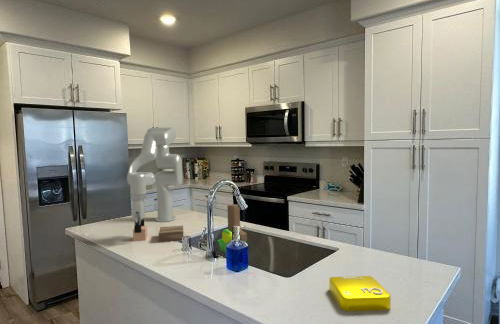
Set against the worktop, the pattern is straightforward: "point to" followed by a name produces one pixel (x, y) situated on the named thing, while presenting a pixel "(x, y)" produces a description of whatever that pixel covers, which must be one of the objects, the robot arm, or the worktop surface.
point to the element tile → (359, 293)
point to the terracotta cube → (140, 234)
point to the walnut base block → (170, 233)
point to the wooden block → (235, 220)
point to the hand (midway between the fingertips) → (139, 230)
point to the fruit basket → (225, 239)
